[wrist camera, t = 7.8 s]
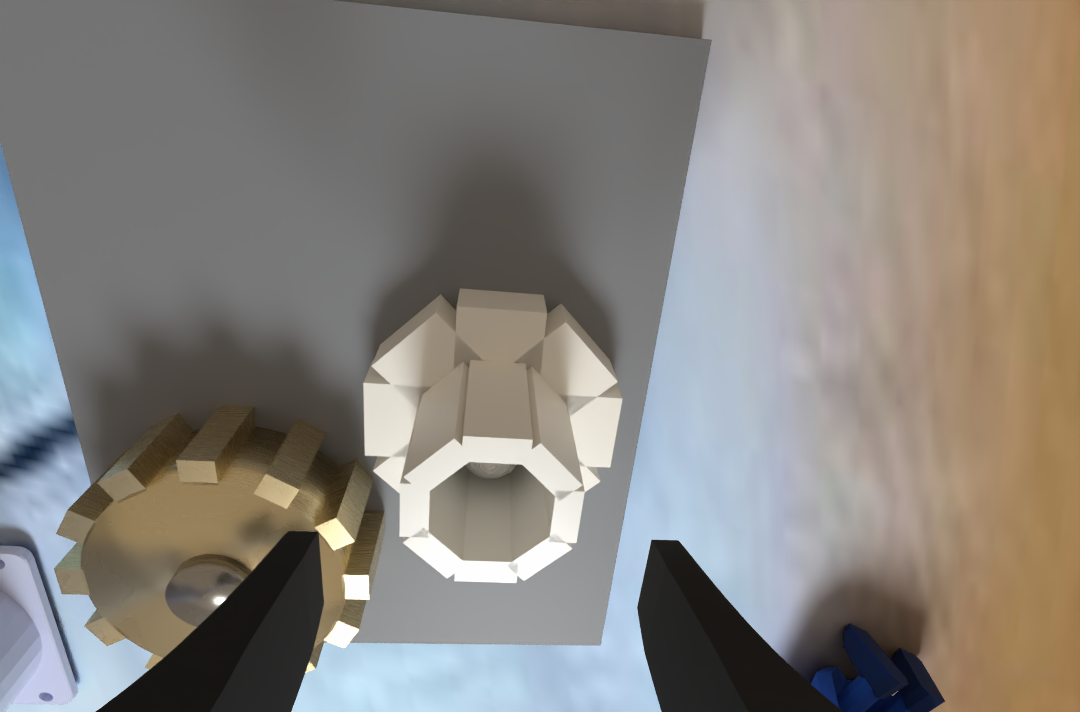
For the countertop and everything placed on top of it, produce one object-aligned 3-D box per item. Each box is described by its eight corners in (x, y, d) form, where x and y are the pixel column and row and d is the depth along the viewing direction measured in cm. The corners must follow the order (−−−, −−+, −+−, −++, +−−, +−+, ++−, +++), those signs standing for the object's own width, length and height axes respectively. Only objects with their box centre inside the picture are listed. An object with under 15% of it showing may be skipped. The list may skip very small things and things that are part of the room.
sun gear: (139, 611, 23) (79, 702, 20) (85, 398, 19) (0, 467, 16) (386, 615, 24) (369, 703, 20) (382, 412, 20) (360, 479, 17)
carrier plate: (143, 622, 24) (132, 640, 24) (-22, -36, 15) (-49, -40, 14) (597, 629, 26) (600, 645, 25) (702, 41, 17) (711, 40, 16)
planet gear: (374, 492, 21) (336, 623, 16) (371, 281, 18) (324, 364, 13) (592, 502, 22) (619, 629, 17) (626, 301, 19) (673, 386, 14)
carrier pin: (463, 426, 20) (457, 491, 17) (465, 377, 20) (459, 436, 17) (517, 428, 21) (521, 493, 17) (522, 380, 20) (526, 439, 17)
